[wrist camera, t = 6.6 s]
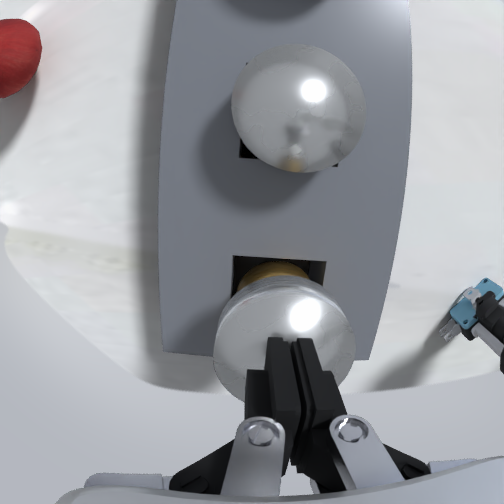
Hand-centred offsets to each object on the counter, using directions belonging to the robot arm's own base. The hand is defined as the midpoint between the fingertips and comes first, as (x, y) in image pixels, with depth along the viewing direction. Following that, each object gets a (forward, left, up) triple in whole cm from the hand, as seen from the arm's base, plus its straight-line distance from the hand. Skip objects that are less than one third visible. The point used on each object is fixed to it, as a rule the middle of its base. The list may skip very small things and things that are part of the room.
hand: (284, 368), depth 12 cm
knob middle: (0, -10, -10) cm, 14 cm away
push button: (-17, +2, -10) cm, 20 cm away
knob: (0, 0, -7) cm, 7 cm away
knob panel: (0, -10, -10) cm, 14 cm away
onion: (+19, -15, -10) cm, 26 cm away
